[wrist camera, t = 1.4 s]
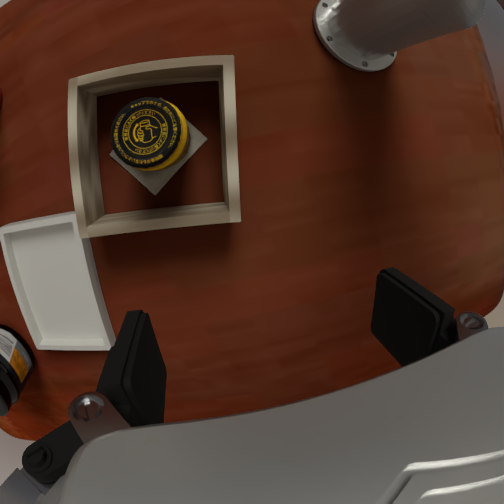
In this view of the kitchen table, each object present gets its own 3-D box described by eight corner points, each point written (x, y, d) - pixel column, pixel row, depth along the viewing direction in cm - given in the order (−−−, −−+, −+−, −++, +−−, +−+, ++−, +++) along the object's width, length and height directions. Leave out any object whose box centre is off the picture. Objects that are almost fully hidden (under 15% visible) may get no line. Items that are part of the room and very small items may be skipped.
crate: (89, 90, 25) (68, 79, 19) (227, 72, 27) (233, 55, 21) (98, 224, 30) (79, 238, 24) (233, 210, 32) (240, 221, 27)
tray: (8, 223, 27) (-2, 228, 25) (85, 209, 29) (77, 213, 27) (43, 339, 33) (37, 349, 31) (116, 339, 35) (112, 350, 33)
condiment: (207, 139, 29) (212, 127, 18) (155, 195, 30) (131, 217, 19) (161, 97, 27) (140, 65, 16) (110, 154, 28) (64, 155, 17)
